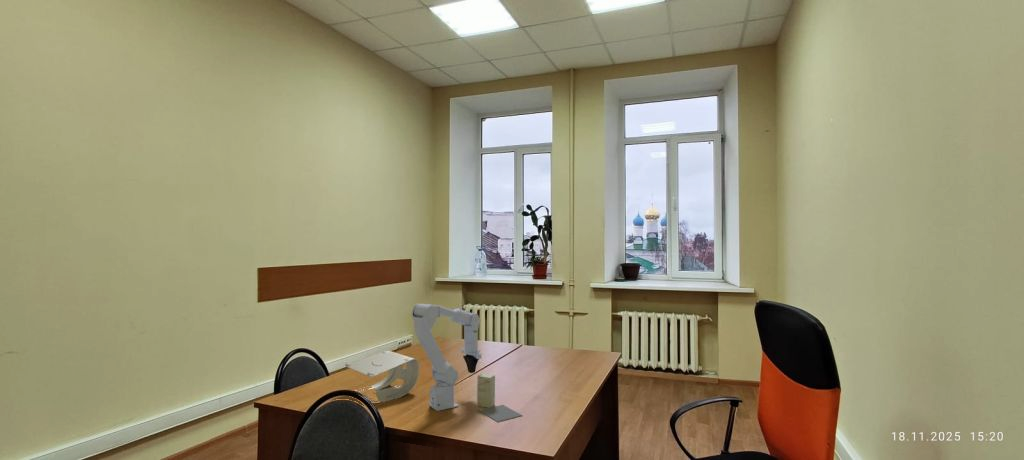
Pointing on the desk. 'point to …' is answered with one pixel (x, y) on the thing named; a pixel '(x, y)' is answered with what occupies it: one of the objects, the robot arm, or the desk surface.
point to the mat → (500, 413)
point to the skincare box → (486, 390)
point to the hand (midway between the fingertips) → (471, 372)
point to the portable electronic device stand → (396, 368)
